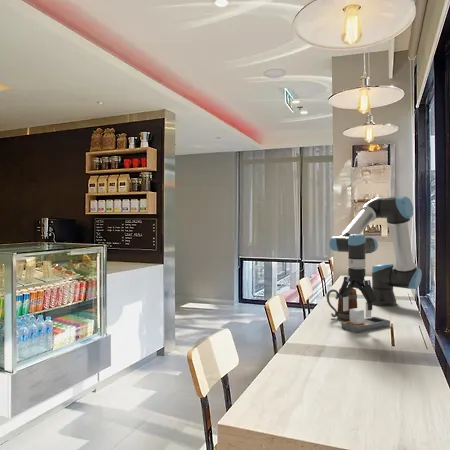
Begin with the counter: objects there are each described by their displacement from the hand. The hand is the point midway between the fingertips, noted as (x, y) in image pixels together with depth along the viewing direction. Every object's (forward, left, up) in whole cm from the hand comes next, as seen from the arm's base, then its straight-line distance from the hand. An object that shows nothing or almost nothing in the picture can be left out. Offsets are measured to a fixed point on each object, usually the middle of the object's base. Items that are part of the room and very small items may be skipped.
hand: (356, 313), depth 185 cm
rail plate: (-6, 0, -7) cm, 9 cm away
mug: (-8, -17, -7) cm, 20 cm away
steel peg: (0, 0, -7) cm, 7 cm away
